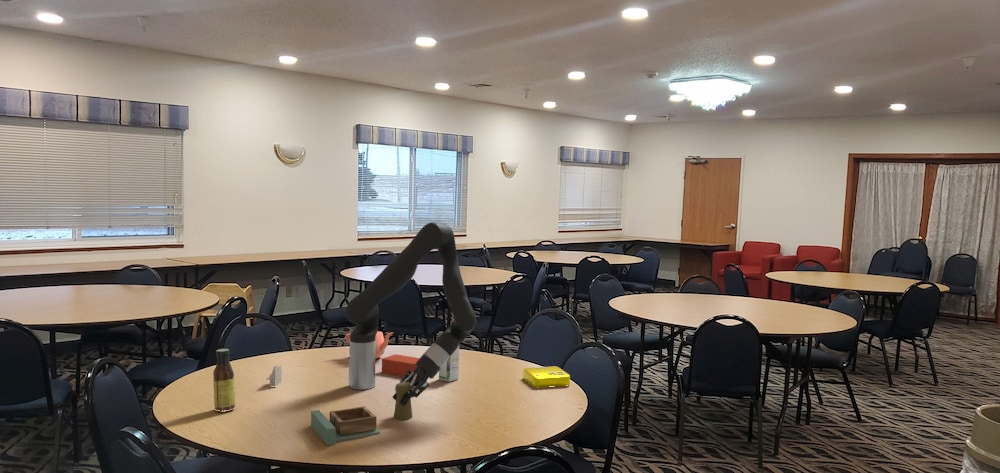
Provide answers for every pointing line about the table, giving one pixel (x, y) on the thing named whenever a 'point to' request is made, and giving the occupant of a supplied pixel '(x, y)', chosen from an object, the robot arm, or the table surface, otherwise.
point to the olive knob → (400, 410)
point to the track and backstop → (332, 429)
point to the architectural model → (275, 376)
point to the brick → (398, 364)
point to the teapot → (376, 343)
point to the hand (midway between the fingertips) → (397, 401)
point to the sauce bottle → (223, 382)
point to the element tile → (546, 376)
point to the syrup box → (450, 368)
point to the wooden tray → (353, 420)
